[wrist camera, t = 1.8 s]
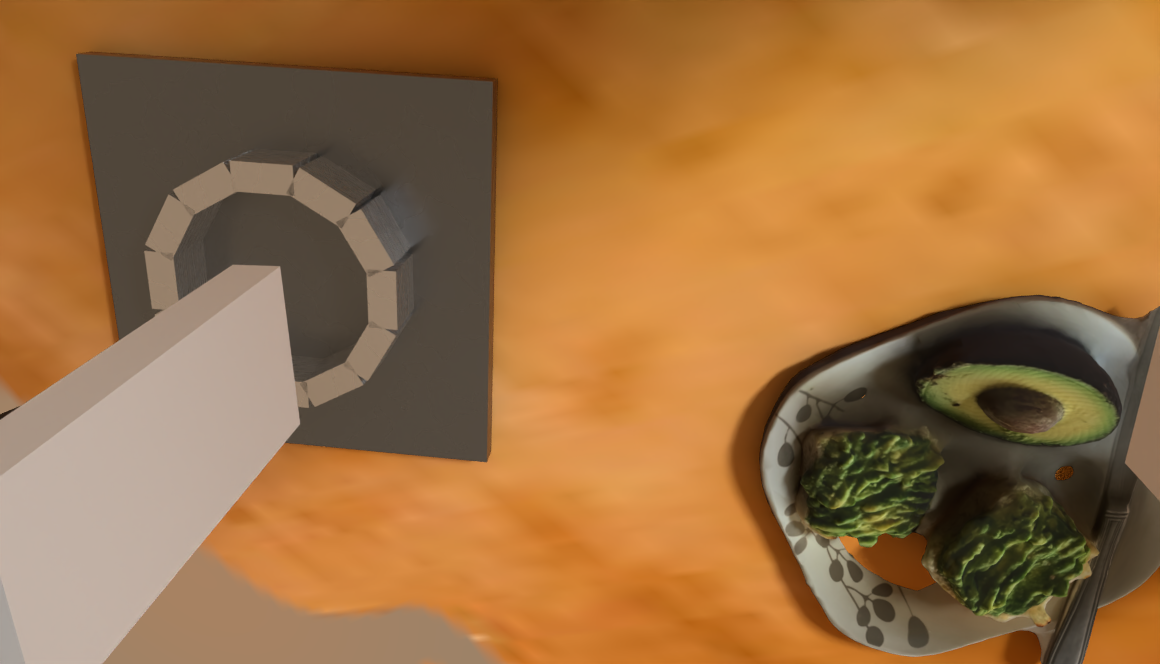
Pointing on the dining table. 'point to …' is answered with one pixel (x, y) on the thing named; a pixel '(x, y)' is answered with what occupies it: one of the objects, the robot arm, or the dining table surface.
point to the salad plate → (971, 474)
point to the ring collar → (316, 227)
